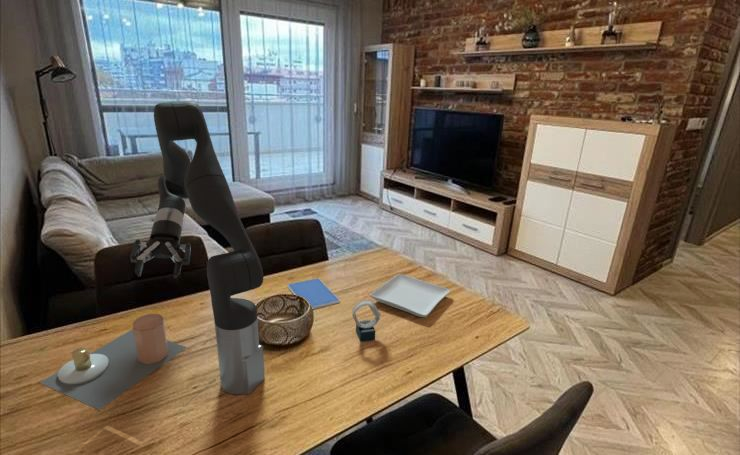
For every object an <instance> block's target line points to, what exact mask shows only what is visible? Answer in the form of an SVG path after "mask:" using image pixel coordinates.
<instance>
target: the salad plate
mask: <svg viewBox="0 0 740 455" xmlns="http://www.w3.org/2000/svg"><path fill="white" fill-rule="evenodd" d="M450 293H451V289H450V288H446V287H444V286H442V285H441V286H440V285H437V284H434V283H431V282H429V281H425V280H421V279H418V278H415V277H412V276H408V275H405V274H402V273H398V274H396V275H394V276H393V277H392V278H390V279H388V281H386V282H384V283H383V284H382V285H380V286H379V287H378V288H376V289H375V290H374V291H372V292H371V293H369V296H370V298H372V299H373V300H375V301H376V302H378V303H381V304H384V305H387V306H389V307H391V308H395V309H397V310H398V309H399V310H401V311H403V312H406V313H409V314H412V315H413V316H417V317H420V318H425V317H428V315H429V314H430V313H432V311H433V310H434V308H435V307H437V305H438V304H439V303H440V302H441V301H442V300H443V299H444V298H446V296H447V295H448V294H450Z"/></svg>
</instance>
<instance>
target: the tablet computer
mask: <svg viewBox="0 0 740 455" xmlns="http://www.w3.org/2000/svg"><path fill="white" fill-rule="evenodd" d="M286 287H287V288H288V290H289V291H290V292H291V294H293V296H294V295H297V296H301V297H303V298H305V299H306V300H307V301H308V302H309V304H310V305H311V307H312V308H313V310H315V309H320V308H324V307H328V306H332V305H336V304H339V303H341V300H340V298H338V297H337V296H336V295H335V293H333V291H332V290H331V289H330V288H329V287H328V286H327V285H326V284H325V283H324V282H323V281H322V280H321V279H320V278H318V277H317V278H316V277H315V278H312V279H308V280H303V281H298V282H293V283H288V284H287V285H286Z"/></svg>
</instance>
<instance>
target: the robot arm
mask: <svg viewBox="0 0 740 455" xmlns="http://www.w3.org/2000/svg"><path fill="white" fill-rule="evenodd" d="M153 121H154V128H155V131H156V132H155V133H156V136H157V140H158V145H159V149H160V151H161V156H162V160H163V161H162V165H163V174H161V175H160V176H159V178H158V180H157V189H158V195H159V204H158V208H157V211H156V215H155V217H154V219H153V224H152V229H151V232H150V234H149V235H150V236H149V239H148V241H141V239H136V240H135V241H134V243H133V246H132V248H131V252H130V254H129V258H130V262H131V264H133V263H135V266H134V267H135V268H134V274H135V275H136V276H137V277H141V276H142V273H143V269H144V264H145V263H146V262H149V261H150V260H152V259H154V258H155V259H167V260H169V258H170V259H171V260H172V261H173V263H174V269H173V275H172V276H173V279H176V278H178V277H179V276H180V275H181V270H182V266H184V265H185V266H189V265H190V262H191V252H192V250H191V249H192V248H191V247H192V246H191V243H190V242H186V243H185V244H184V243H183V244H181V243H180V242H181V237H182V232H183V228H184V226H183V225H184V215H185V211H186V202H185V199H186V200H187V199H188V201H189V203H190V206H191V209H192V211H194V213H195V214H196V215H197V216H198V217H199V218H200V219H202V220H203V222H205V223H207V225H210V226H211V227H212V228H213V229H215V230H216V231H217V232H219V233H220V234H221V235H222V236H223V237H224V238H225V239H226V241H227V242H228V243H229V245H230V247H231V248H232V250H233V251H228V252H226V253H225V252H224V253H221V254H220V253H219V254H216V255H213V256H210V257H209V258H208V260H207V263H206V276H207V281H208V287H209V292H210V301H211V308H212V314H213V321H214V329H215V330H214V332H215V339H216V350H217V359H218V360H217V361H218V369H219V376H220V377H219V378H220V386H221V389H222V390H223V391H224V392H226V393H228V394H231V395H243V394H246V395H250V394H251V393H252V392H253V391H254V390H256V388H257V387H258V386H259V385H260V384H261V383H262V382H263V381H264V380H265V378H266V377H265V361H264V347H263V346H264V345H261V344H260V340H259V339H260V337H259V323H258V309H257V306H256V303H254V302H253V301H251V300H250V299H246V298H238V297H232V296H235V295H238V294H243V293H245V292H246V293H247V292H249V291H252V290H257V289H258V288H260V287H262V285H263V283H264V271H263V267H262V263H261V260H260V257H259V256H258V254H257V251H256V249H255V247H254V245H253V242H252V241H251V239H250V237H249V235H248V233H247V230H246V229H245V227H244V225H243V222H242V220H241V217H240V215H239V212H238V208H237V206H236V203H235V200H234V198H233V194H232V191H231V188H230V187H229V183H228V181H227V179H226V176H225V174H224V172H223V170H222V167H221V164H220V162H219V159H218V157H217V154H216V152H215V149H214V146H213V142H212V138H211V135H210V132H209V129H208V128H209V127H208V125H207V122H206V119H205V115H204V112H203V111H202V108H201V107H200V105H199V103H197V102H195V101H191V100H190V101H189V100H185V101H184V100H183V101H167V102H160V103H159V102H158V103H157V104H156V105H154V109H153ZM186 140H194V141H195V142H196V146H195V149H194V150H195V151H194V153H193V157H192V159H190V158H191V157H190V155H189V154H188V153H187V152H186V150H184V148H182V146H180V145H178V144H177V143H176V142H177V141H186ZM145 248H146V249H145ZM143 249H145V250H144V251H143ZM180 250H182V252H183V253H184V257H183V258H181V256H180V254H179V253H178V252H179V251H180ZM141 251H143V252H142V253H141V254H140V252H141ZM139 254H140V255H139Z"/></svg>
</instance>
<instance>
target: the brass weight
mask: <svg viewBox="0 0 740 455" xmlns="http://www.w3.org/2000/svg"><path fill="white" fill-rule="evenodd" d="M89 354H90V351H89V348H88V347H86V346H85V347H84V346H83V347H79V348H76V349H75V350H73V351H72V352H71V356H72V360H73V361H74V365H75V369H76V371H84V370H87V369H89V368H90V367H91V366H92V364H91V359H90V355H89Z"/></svg>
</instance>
